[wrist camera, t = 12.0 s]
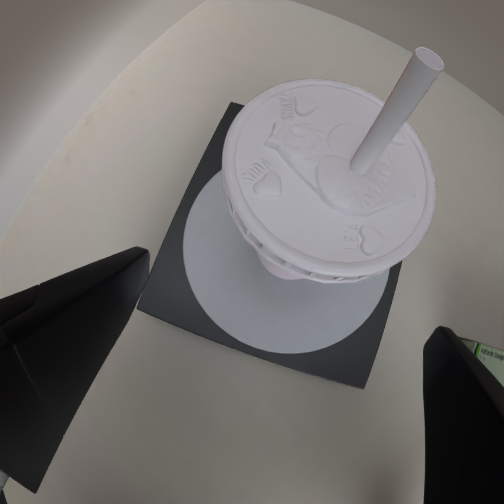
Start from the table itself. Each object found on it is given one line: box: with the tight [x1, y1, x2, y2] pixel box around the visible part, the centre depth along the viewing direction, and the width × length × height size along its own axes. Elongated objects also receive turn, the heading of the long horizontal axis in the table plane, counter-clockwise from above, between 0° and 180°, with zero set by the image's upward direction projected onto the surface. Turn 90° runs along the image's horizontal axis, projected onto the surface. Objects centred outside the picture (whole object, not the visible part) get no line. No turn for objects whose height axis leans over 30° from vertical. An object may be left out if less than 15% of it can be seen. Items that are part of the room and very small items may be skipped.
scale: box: [137, 102, 402, 389], centre depth 20 cm, size 15×14×3 cm
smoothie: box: [222, 47, 444, 283], centre depth 11 cm, size 6×6×14 cm
